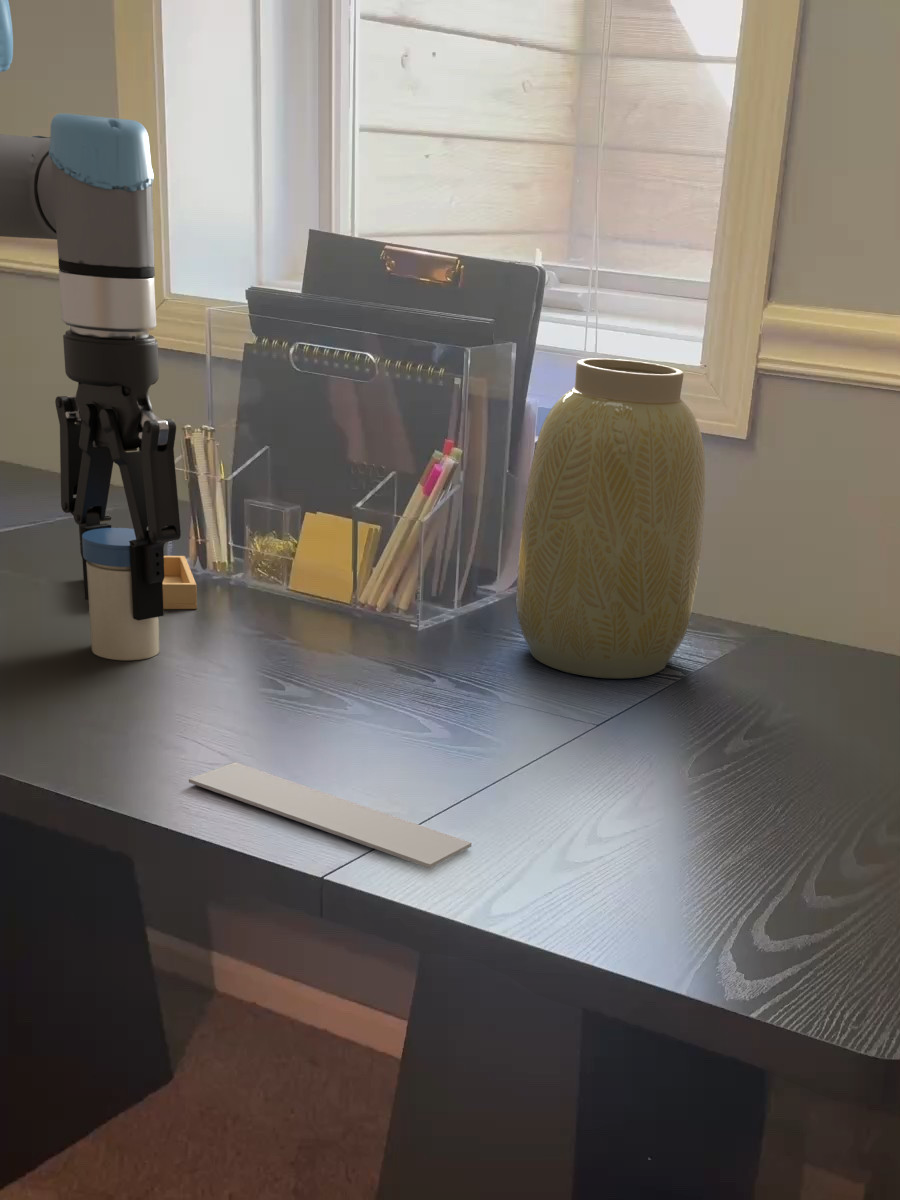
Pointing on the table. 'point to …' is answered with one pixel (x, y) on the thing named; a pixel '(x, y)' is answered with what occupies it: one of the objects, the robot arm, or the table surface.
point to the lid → (108, 546)
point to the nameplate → (332, 814)
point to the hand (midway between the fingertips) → (123, 607)
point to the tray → (178, 584)
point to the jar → (117, 616)
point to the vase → (612, 523)
